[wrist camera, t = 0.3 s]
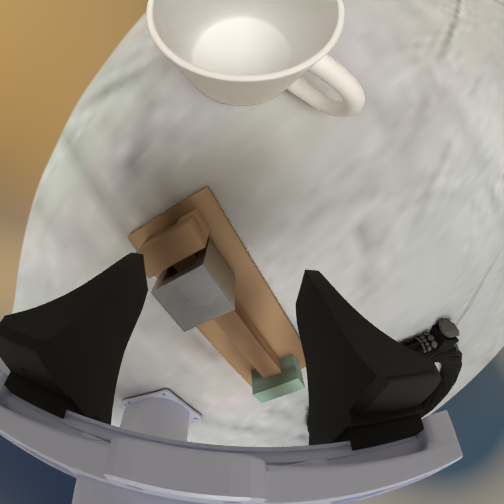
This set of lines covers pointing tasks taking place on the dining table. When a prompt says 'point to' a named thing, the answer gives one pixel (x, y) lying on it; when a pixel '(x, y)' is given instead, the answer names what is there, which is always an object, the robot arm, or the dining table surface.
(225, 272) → the keeper
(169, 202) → the dining table surface
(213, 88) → the cup
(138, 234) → the rail
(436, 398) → the cable lock
